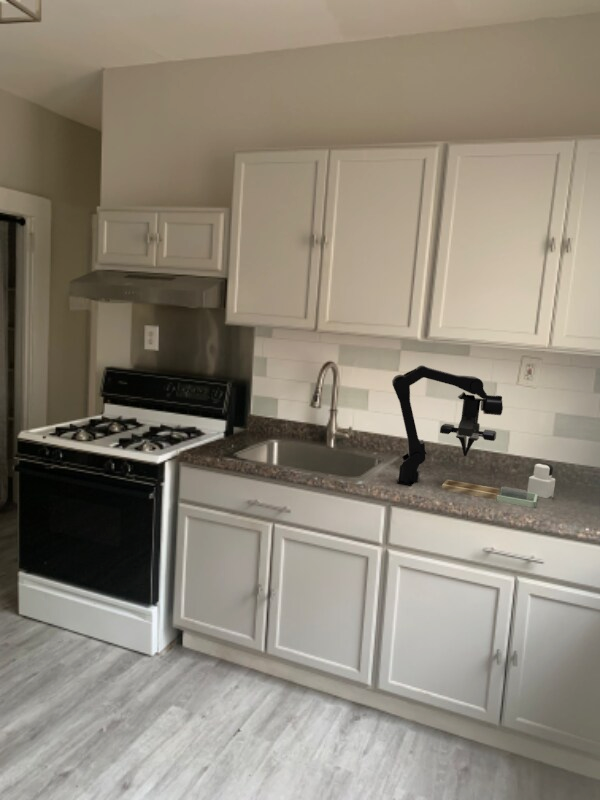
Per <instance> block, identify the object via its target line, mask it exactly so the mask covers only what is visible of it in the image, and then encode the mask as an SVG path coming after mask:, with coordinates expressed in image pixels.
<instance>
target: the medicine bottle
mask: <svg viewBox="0 0 600 800" xmlns="http://www.w3.org/2000/svg"><path fill="white" fill-rule="evenodd" d="M533 468H534V469H533V475H531V476H529V477H528V480H527V489H526V490H528V492H529V493H535V494H538V497H540V498H544V499H549V498H551V499H552V498H553V497H554V492H555V484H556V478H554V477H553V472H554V467H553V466H552V465H551V464H549V463H543V462H538V463H535V464H534V467H533Z"/></svg>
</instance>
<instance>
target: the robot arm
mask: <svg viewBox="0 0 600 800" xmlns="http://www.w3.org/2000/svg"><path fill="white" fill-rule="evenodd" d="M423 378H424V379H425V378H426V379H428V380H433V381H436V382H439V383H444V384H447V385H451V386H454V387H456V388H458V389H461V390H463V392H462V393H461V394H459V395H458V396H457V398H458V399H460V400H462V401H463V402H462V410H461V419H460V420H459V421H460V422H459V424H458V427H455V425H454V424H451V423H444V424H442V425H440V429H439V433H440V434H443V435H444V434H445V435H449V434H451V433H454V434H456V435H455V438H456V439H458V440H459V442H460V444H461V449H462V454H463V456H464V457H467V456H468V453H469V451H470V450H471V448H472V446H473V444H474V442H475V441H478V440H479V439H480V437H482V438H483V440H485V441H490V442H494V441H496V439H497V431H495V430H493V429H492V430H491V429H484V430H483V431H481V430H480V426H481V425H480V423H479V414H480V411H482V412H483V415H493V416H501V415H502V413H503V409H504V406H503V396H501V395H489V394H487V393H486V391H485V389H484V383H483V381H482V380H481V378H479V377H477V376H470V375H456V374H454V373H449V372H446V371H442V370H438V369H436V368H435V369H434V368H430V367H428V366H425V365H419V366H417V367H415V368H414V369H412V370H410V371H407V372H406V373H404V374H397V375H395V376H394V377H393V379H392V382H391V383H392V387H393V389H394V392H395V394H396V397H397V399H398V402H399V405H400V406H399V407H400V409H401V414H402V420H403V423H404V429H405V432H406V438H407V446H406V447H407V453H405V454H404V455H402V456H401V457H400V459H401V464H400V465H399V473H398V480H396V483H397V484H402V485H406V486H413V485H415V483H417V484H418V483H419V482H420V475H421V471H419V470H420V465H422V464H423V463H424V462H425V460H426V455H428V453H427V450H426V446H425V444H426V443H425V441H424V440H420V439H419V435H418V431H417V427H416V423H415V418H414V414H413V413H414V412H413V410H412V403H411V386H412V385H414V384H415V383H417V382H418V381H420V380H422V379H423ZM466 392H467V393H468V394H466ZM475 395H477V396H478V397H475ZM479 397H480V398H479ZM467 437H468V438H467Z"/></svg>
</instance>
